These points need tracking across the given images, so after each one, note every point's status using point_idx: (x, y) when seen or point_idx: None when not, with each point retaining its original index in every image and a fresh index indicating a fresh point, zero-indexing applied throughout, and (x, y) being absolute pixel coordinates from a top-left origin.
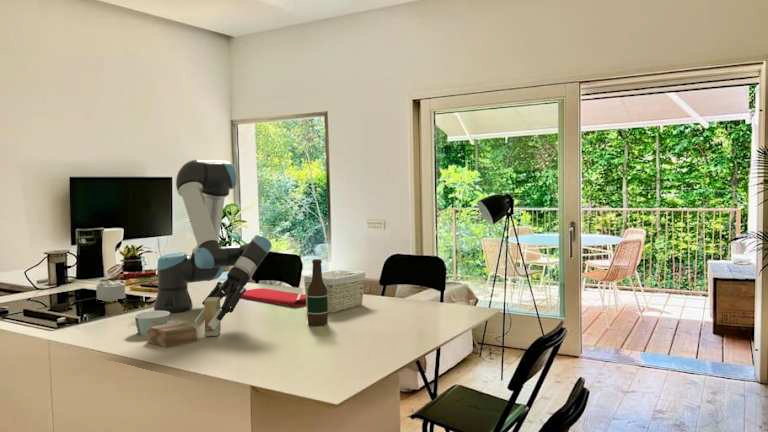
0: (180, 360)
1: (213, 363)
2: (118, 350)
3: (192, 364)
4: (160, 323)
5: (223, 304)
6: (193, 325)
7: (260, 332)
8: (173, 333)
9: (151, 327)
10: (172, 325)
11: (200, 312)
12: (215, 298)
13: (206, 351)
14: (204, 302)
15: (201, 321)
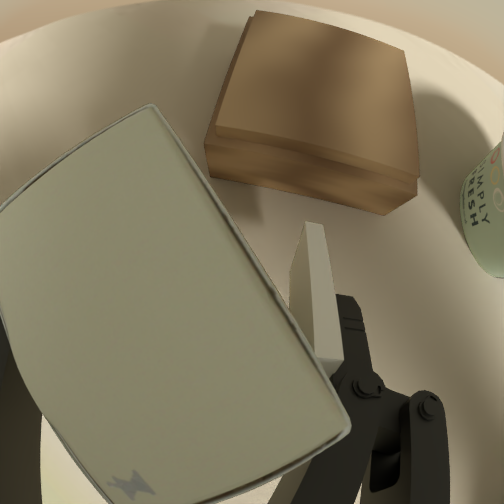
0: (105, 19)
1: (20, 56)
2: (361, 18)
3: (63, 25)
4: (486, 188)
5: (3, 345)
6: (221, 124)
7: (42, 432)
8: (243, 36)
9: (391, 46)
10: (349, 88)
11: (357, 312)
12: (77, 390)
13: (69, 91)
14: (152, 116)
15: (294, 281)
